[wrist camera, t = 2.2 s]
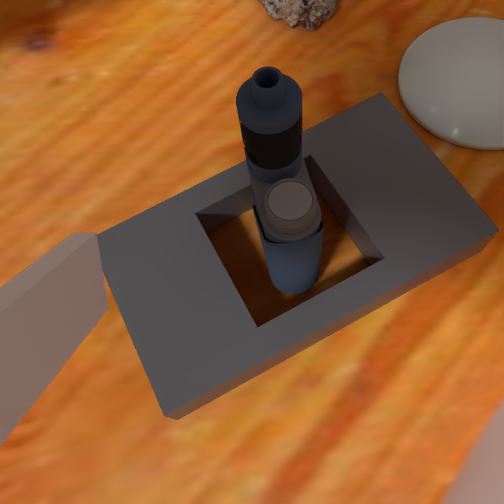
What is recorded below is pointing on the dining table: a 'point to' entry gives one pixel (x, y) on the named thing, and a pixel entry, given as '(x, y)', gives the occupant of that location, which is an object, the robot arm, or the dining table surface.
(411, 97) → the coaster
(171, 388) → the block
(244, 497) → the dining table surface
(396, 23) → the dining table surface
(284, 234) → the vaping device
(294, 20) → the mineral rock
